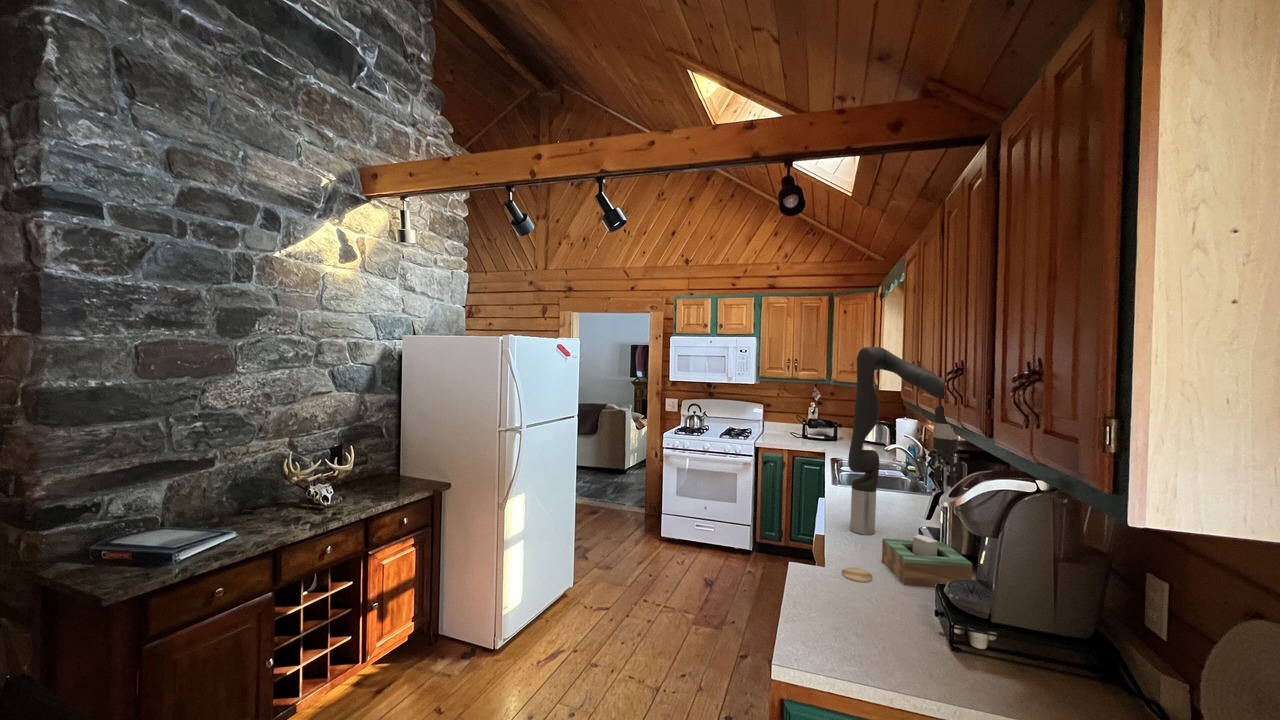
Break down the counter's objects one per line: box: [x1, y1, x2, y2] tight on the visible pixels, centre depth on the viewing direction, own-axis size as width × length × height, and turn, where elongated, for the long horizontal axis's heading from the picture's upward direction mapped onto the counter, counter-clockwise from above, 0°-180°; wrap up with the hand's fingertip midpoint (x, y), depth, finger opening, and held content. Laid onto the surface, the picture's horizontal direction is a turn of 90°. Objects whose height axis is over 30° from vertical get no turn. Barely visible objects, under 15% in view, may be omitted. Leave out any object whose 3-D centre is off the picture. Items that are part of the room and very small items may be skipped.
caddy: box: [881, 538, 973, 588], centre depth 167 cm, size 18×20×8 cm
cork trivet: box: [841, 567, 873, 583], centre depth 164 cm, size 9×9×1 cm
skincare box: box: [912, 534, 939, 556], centre depth 167 cm, size 6×4×12 cm
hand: (943, 483), depth 176 cm, fingers open, 8 cm apart
